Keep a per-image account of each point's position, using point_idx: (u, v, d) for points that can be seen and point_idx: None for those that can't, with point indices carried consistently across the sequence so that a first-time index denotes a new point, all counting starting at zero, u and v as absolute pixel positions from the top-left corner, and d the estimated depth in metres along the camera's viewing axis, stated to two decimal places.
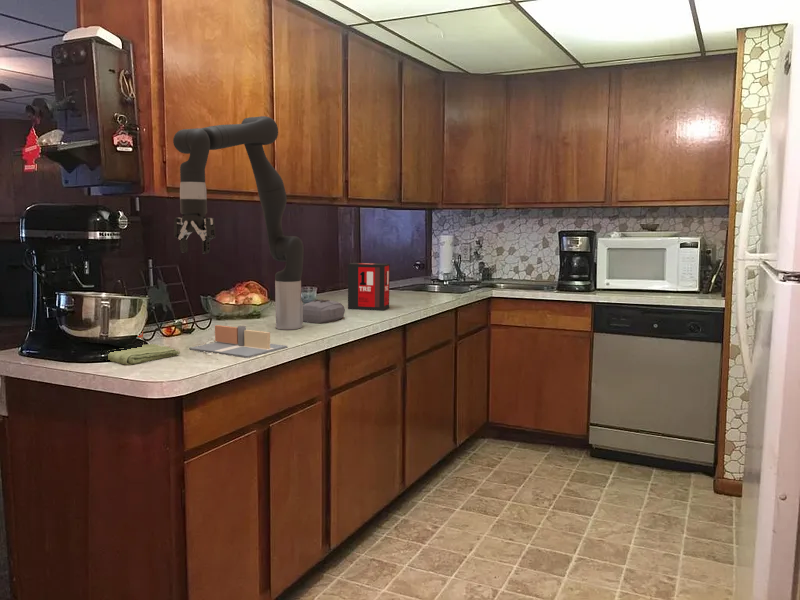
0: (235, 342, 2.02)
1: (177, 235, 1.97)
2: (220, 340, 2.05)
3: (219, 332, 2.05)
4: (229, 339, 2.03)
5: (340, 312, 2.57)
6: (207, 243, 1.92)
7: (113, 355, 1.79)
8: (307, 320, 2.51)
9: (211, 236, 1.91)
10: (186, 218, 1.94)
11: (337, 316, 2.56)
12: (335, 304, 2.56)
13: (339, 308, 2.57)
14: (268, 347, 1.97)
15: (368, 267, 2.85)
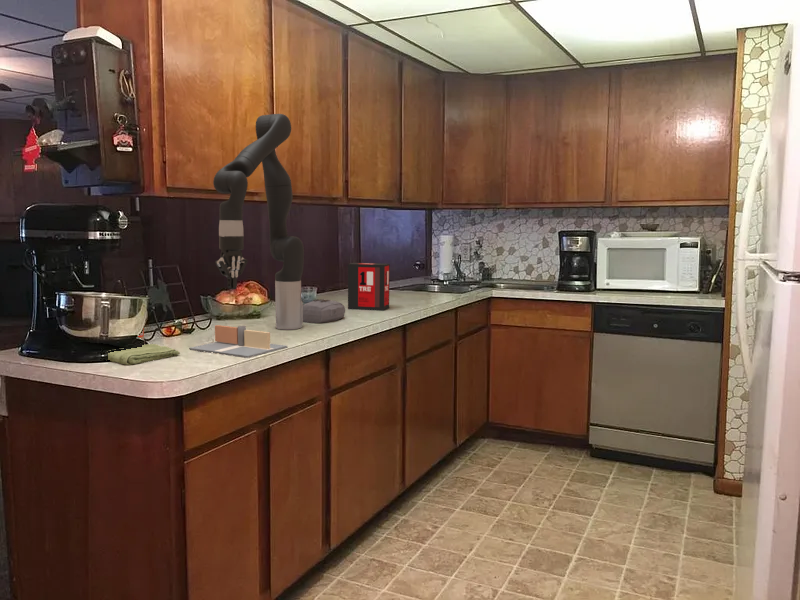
0: (235, 342, 2.02)
1: None
2: (220, 340, 2.05)
3: (219, 332, 2.05)
4: (229, 339, 2.03)
5: (340, 312, 2.58)
6: None
7: (113, 355, 1.79)
8: (307, 320, 2.51)
9: None
10: (230, 254, 2.06)
11: (337, 316, 2.56)
12: (335, 304, 2.56)
13: (339, 308, 2.57)
14: (268, 347, 1.97)
15: (368, 267, 2.85)
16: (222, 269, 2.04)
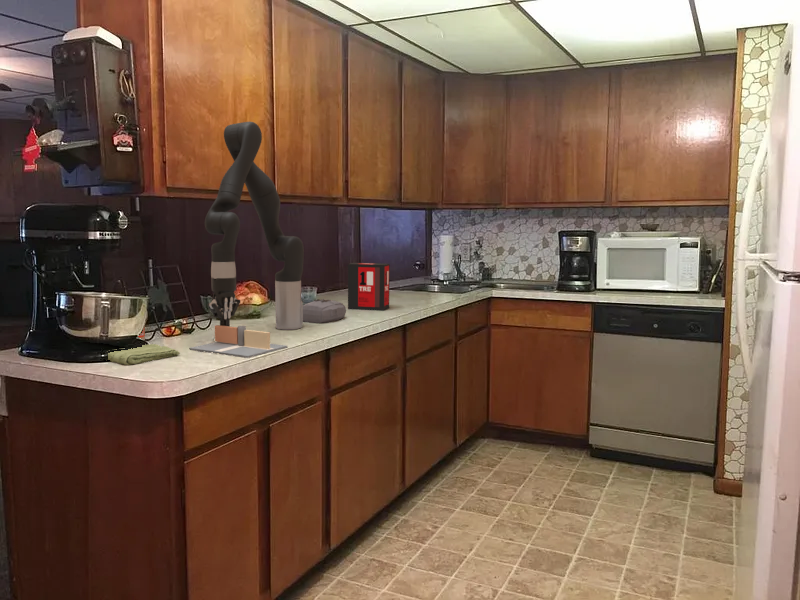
0: (235, 342, 2.02)
1: (221, 314, 2.05)
2: (220, 340, 2.05)
3: (219, 332, 2.05)
4: (229, 339, 2.03)
5: (341, 312, 2.58)
6: None
7: (113, 355, 1.79)
8: (308, 320, 2.51)
9: None
10: (222, 295, 2.04)
11: (338, 316, 2.56)
12: (336, 304, 2.56)
13: (340, 308, 2.57)
14: (268, 347, 1.97)
15: (368, 267, 2.85)
16: (215, 311, 2.03)
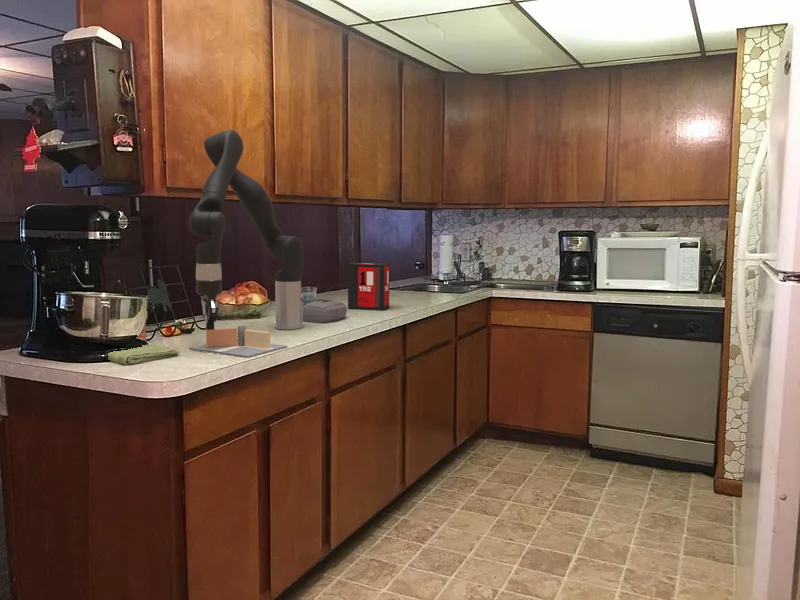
0: (235, 343, 2.01)
1: None
2: (214, 344, 1.98)
3: (213, 336, 1.98)
4: (227, 341, 2.00)
5: (342, 312, 2.58)
6: None
7: (112, 355, 1.79)
8: (310, 320, 2.51)
9: None
10: None
11: (339, 316, 2.56)
12: (337, 304, 2.57)
13: (341, 308, 2.57)
14: (268, 347, 1.97)
15: (368, 267, 2.85)
16: (214, 315, 1.96)
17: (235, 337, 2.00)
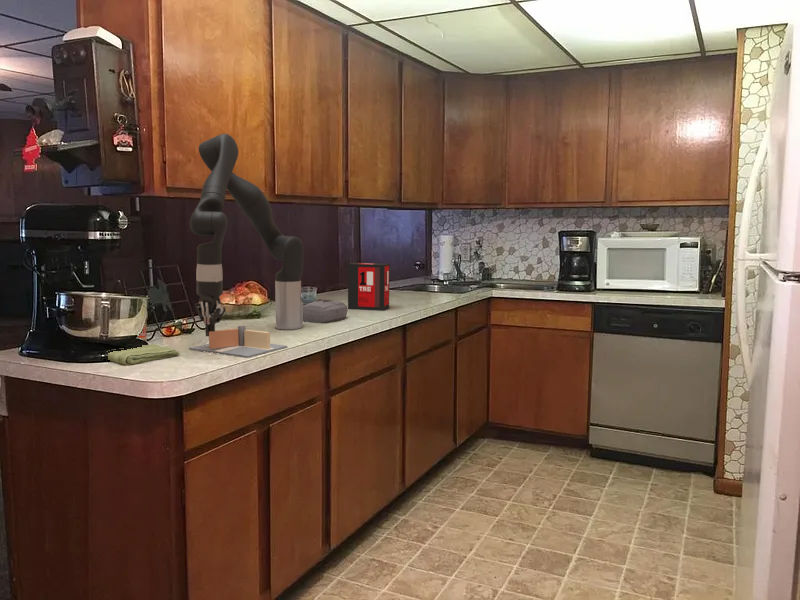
0: (236, 343, 2.00)
1: None
2: (218, 346, 1.96)
3: (217, 338, 1.95)
4: (229, 342, 1.98)
5: (343, 312, 2.58)
6: None
7: (112, 355, 1.79)
8: (310, 320, 2.51)
9: None
10: None
11: (340, 316, 2.57)
12: (338, 304, 2.57)
13: (342, 308, 2.58)
14: (268, 347, 1.97)
15: (368, 267, 2.85)
16: (220, 316, 1.94)
17: (236, 337, 2.00)
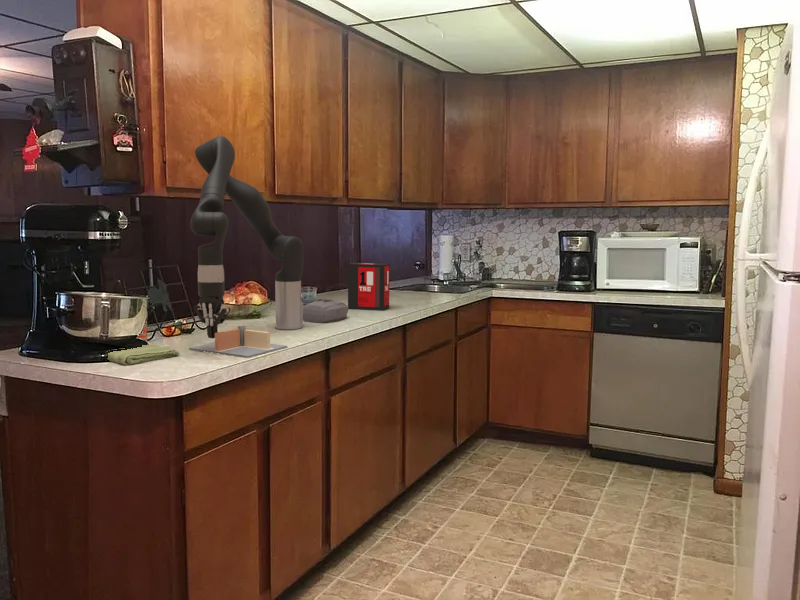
0: (238, 344, 2.00)
1: None
2: (223, 347, 1.94)
3: (222, 339, 1.94)
4: (232, 343, 1.98)
5: (343, 312, 2.58)
6: None
7: (112, 355, 1.79)
8: (311, 320, 2.52)
9: None
10: None
11: (340, 316, 2.57)
12: (338, 304, 2.57)
13: (342, 308, 2.58)
14: (268, 347, 1.97)
15: (368, 267, 2.85)
16: (224, 317, 1.93)
17: (238, 337, 2.00)
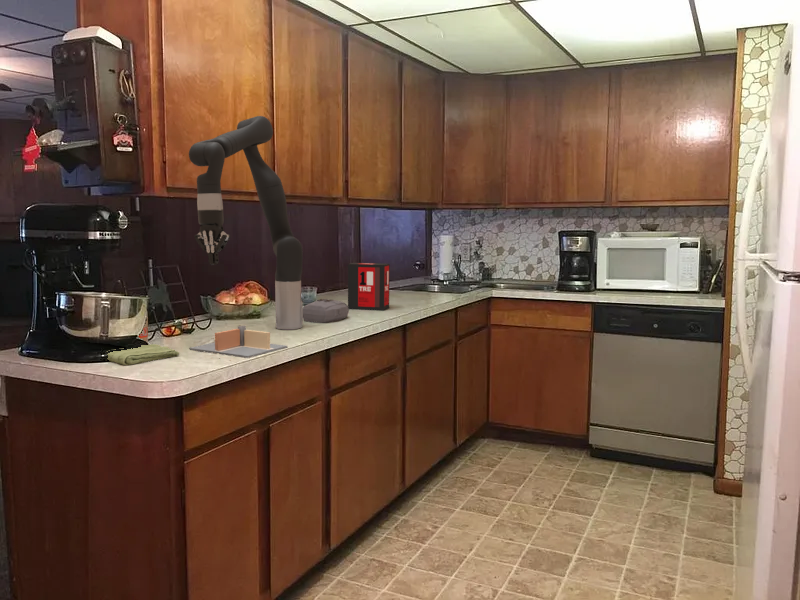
0: (238, 344, 2.00)
1: None
2: (223, 347, 1.94)
3: (222, 339, 1.94)
4: (232, 343, 1.98)
5: (344, 312, 2.59)
6: None
7: (112, 355, 1.79)
8: (311, 320, 2.52)
9: None
10: None
11: (341, 316, 2.57)
12: (339, 304, 2.57)
13: (343, 308, 2.58)
14: (268, 347, 1.97)
15: (368, 267, 2.85)
16: (225, 243, 2.02)
17: (238, 337, 2.00)
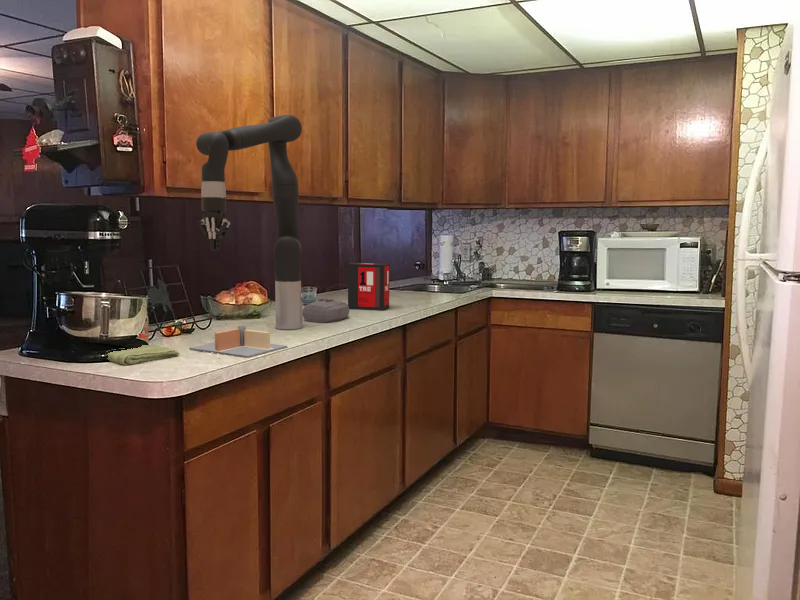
0: (238, 344, 2.00)
1: None
2: (223, 347, 1.94)
3: (222, 339, 1.94)
4: (232, 343, 1.98)
5: (345, 312, 2.59)
6: None
7: (112, 355, 1.79)
8: (312, 320, 2.52)
9: None
10: None
11: (342, 316, 2.57)
12: (340, 304, 2.57)
13: (344, 308, 2.58)
14: (268, 347, 1.97)
15: (368, 267, 2.85)
16: (226, 230, 2.09)
17: (238, 337, 2.00)
